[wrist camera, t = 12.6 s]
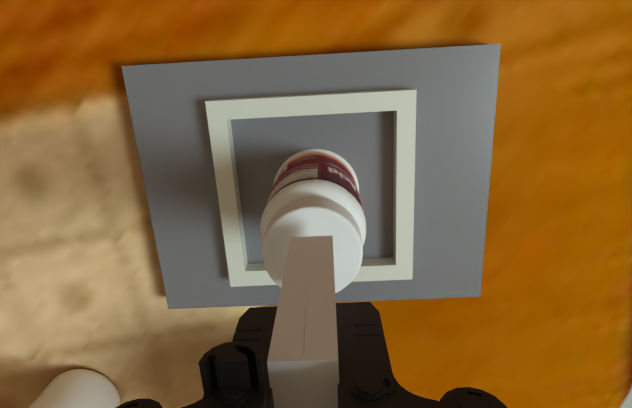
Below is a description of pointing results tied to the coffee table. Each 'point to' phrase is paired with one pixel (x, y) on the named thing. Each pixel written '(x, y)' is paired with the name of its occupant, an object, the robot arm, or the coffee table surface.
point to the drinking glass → (79, 391)
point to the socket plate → (325, 137)
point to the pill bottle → (314, 214)
